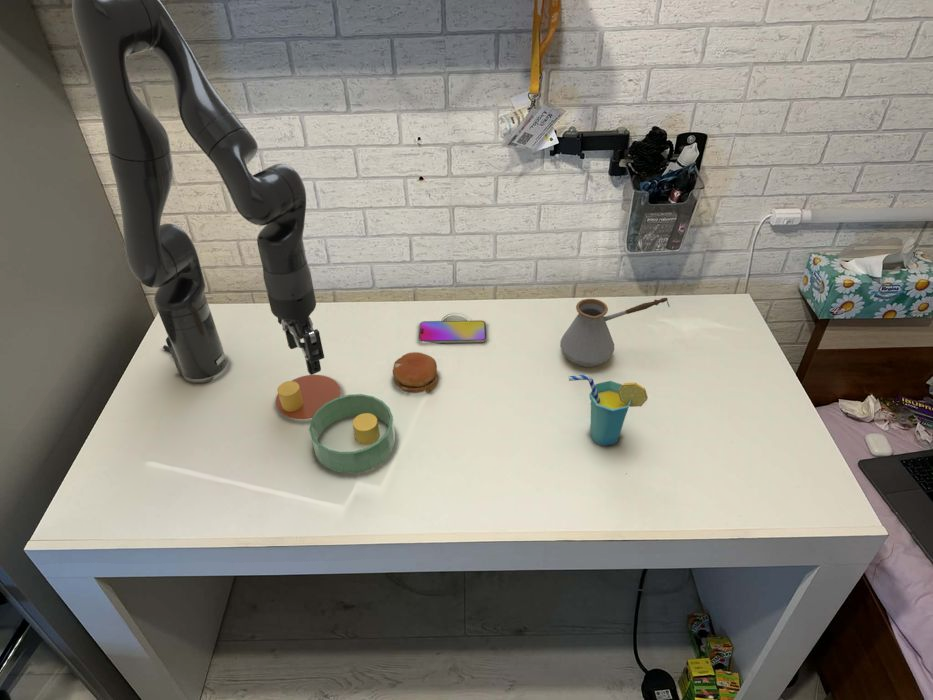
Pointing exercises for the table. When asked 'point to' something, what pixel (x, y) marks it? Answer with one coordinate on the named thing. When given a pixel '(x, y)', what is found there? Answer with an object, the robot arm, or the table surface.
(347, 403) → the green bowl
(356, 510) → the table surface
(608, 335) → the coffee pot
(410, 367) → the burger
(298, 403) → the yellow cylinder
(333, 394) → the plate
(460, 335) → the smartphone
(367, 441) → the yellow short cylinder
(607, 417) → the cup
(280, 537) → the table surface
